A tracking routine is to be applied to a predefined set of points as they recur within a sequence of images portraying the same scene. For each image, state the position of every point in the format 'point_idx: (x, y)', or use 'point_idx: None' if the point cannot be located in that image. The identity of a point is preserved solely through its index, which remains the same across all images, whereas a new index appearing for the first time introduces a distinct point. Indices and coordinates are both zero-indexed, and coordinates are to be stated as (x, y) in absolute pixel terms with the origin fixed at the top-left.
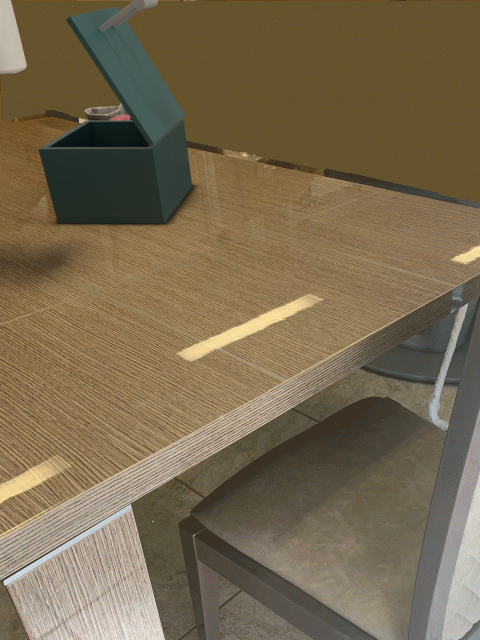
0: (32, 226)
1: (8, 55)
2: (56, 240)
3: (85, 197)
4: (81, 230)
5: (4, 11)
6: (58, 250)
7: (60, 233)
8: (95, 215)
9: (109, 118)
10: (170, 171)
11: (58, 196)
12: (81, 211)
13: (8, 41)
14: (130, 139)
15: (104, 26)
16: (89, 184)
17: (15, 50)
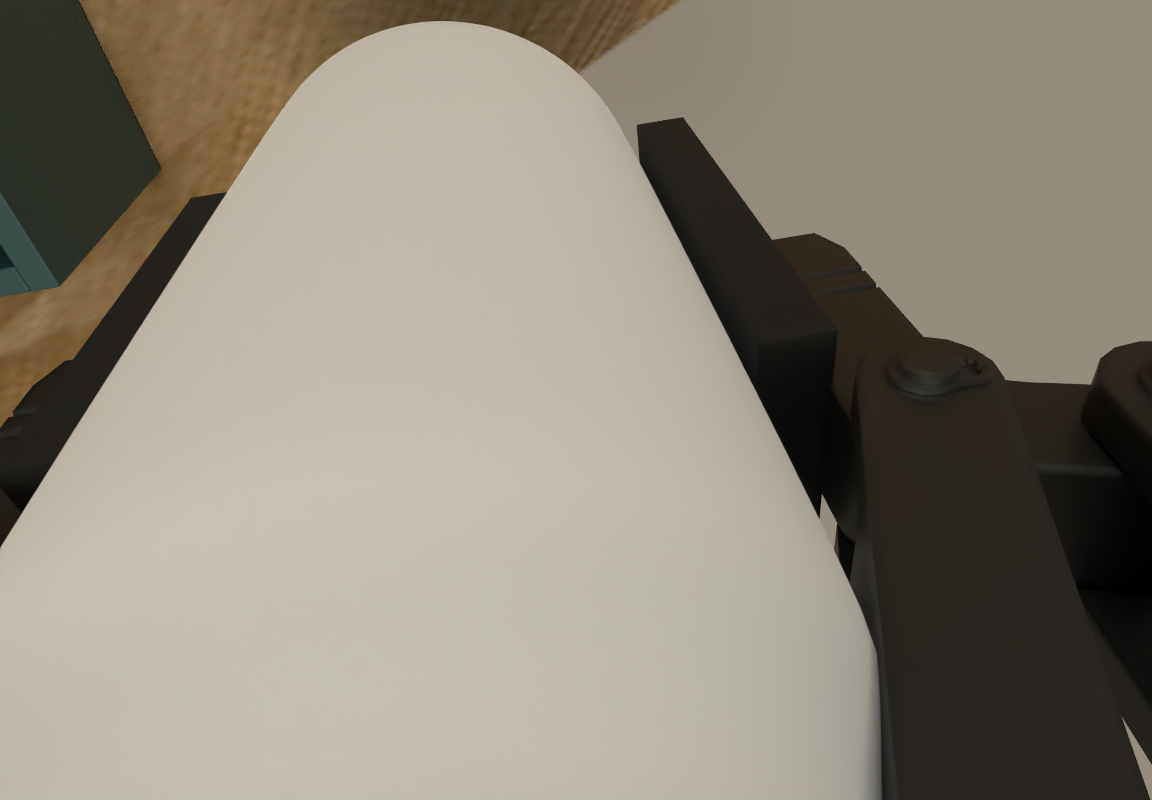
0: None
1: (544, 66)
2: (295, 81)
3: (57, 69)
4: (175, 44)
5: (487, 141)
6: (371, 18)
7: (234, 105)
8: (75, 25)
9: None
10: None
11: (114, 178)
12: (96, 84)
13: (521, 78)
14: None
15: None
16: (16, 51)
17: (470, 47)
